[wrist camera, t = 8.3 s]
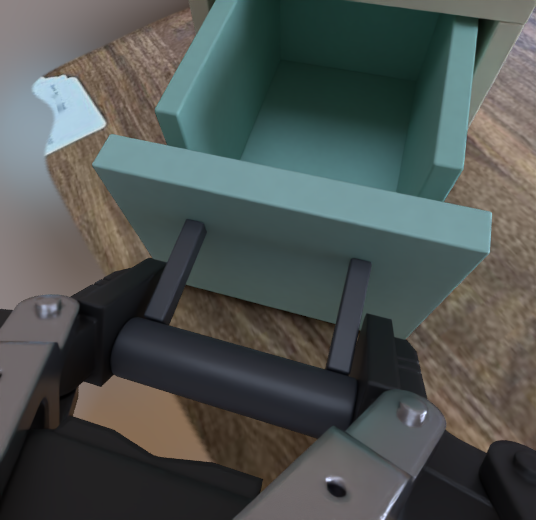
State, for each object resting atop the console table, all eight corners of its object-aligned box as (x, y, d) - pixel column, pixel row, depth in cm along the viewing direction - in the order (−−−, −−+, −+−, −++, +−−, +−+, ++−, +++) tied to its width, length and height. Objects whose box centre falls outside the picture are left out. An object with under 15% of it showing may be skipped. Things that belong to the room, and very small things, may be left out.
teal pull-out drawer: (384, 471, 14) (477, 480, 7) (119, 387, 16) (-10, 330, 9) (440, 93, 22) (509, -74, 15) (260, 63, 24) (249, -99, 17)
